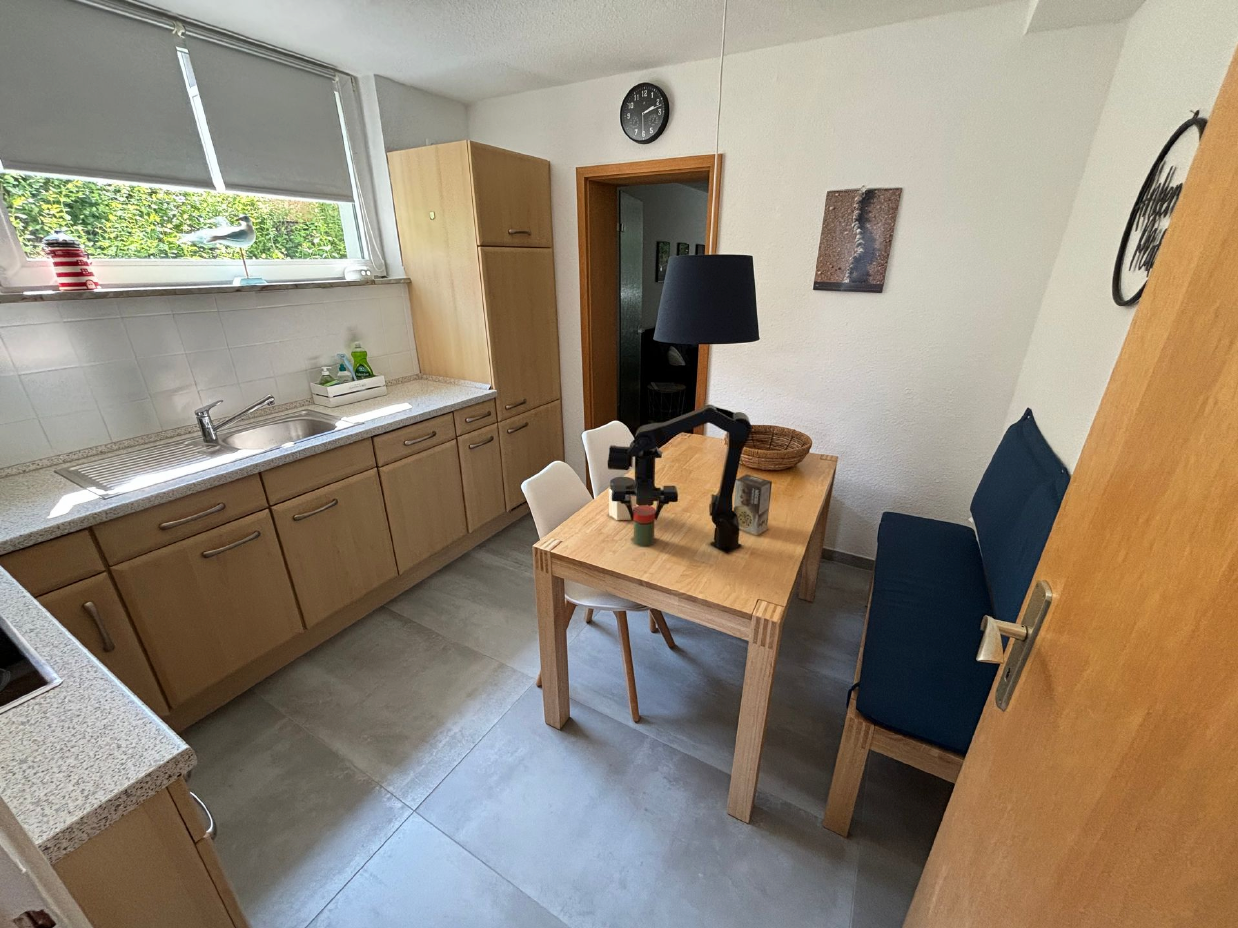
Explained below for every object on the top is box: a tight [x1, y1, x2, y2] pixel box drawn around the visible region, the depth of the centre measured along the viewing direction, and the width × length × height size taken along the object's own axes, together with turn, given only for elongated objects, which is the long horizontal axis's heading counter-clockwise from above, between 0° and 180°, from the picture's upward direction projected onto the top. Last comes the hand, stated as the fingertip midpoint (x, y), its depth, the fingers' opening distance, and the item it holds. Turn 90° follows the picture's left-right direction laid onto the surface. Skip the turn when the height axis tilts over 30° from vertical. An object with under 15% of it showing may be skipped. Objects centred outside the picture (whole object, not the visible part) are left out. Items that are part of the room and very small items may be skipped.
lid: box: [633, 505, 656, 523], centre depth 145 cm, size 7×7×2 cm
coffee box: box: [733, 473, 773, 536], centre depth 152 cm, size 9×6×16 cm
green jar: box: [633, 519, 656, 547], centre depth 147 cm, size 6×6×9 cm
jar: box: [608, 476, 637, 521], centre depth 162 cm, size 9×8×12 cm
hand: (644, 519), depth 146 cm, fingers closed on lid, 6 cm apart
